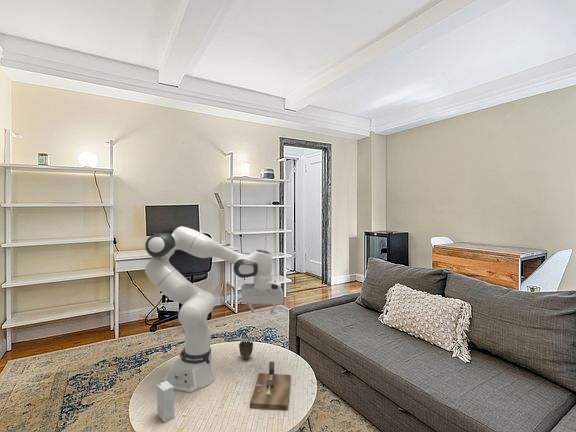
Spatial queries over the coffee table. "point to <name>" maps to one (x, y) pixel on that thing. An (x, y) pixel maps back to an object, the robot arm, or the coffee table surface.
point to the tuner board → (271, 392)
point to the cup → (246, 349)
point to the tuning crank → (271, 372)
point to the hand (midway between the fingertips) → (262, 312)
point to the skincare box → (165, 401)
